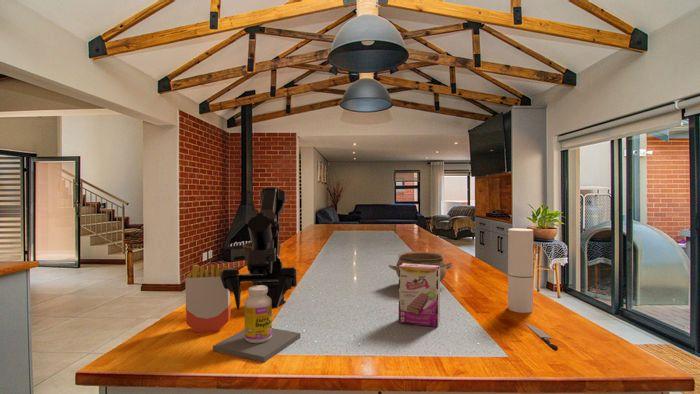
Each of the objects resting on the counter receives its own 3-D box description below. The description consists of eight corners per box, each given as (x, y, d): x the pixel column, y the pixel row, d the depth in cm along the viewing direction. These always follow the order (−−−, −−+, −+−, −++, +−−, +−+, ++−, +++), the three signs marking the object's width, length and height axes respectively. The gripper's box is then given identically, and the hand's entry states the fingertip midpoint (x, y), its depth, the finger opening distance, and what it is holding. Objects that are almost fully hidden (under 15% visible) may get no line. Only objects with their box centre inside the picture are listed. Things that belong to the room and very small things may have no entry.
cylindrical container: (532, 307, 122) (533, 228, 121) (533, 314, 115) (533, 231, 114) (508, 304, 125) (508, 227, 124) (507, 311, 118) (507, 230, 117)
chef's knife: (532, 323, 109) (521, 322, 109) (532, 319, 109) (522, 318, 109) (567, 352, 90) (553, 351, 90) (567, 347, 90) (554, 346, 90)
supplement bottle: (253, 346, 90) (253, 292, 90) (239, 339, 95) (238, 287, 95) (277, 338, 95) (276, 287, 95) (262, 331, 100) (262, 282, 100)
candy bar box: (398, 323, 108) (397, 266, 108) (401, 317, 113) (401, 262, 112) (438, 328, 104) (438, 268, 104) (440, 322, 109) (440, 264, 109)
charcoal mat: (213, 350, 91) (212, 345, 91) (253, 329, 105) (253, 324, 105) (264, 362, 85) (264, 356, 85) (300, 337, 99) (300, 333, 99)
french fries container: (190, 327, 107) (189, 263, 106) (230, 324, 109) (229, 261, 108) (186, 333, 102) (185, 266, 102) (228, 330, 104) (227, 264, 104)
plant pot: (277, 288, 147) (276, 246, 146) (238, 288, 147) (237, 247, 147) (284, 278, 162) (283, 241, 161) (249, 279, 162) (248, 241, 162)
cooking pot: (443, 279, 158) (443, 250, 157) (461, 292, 139) (461, 259, 139) (383, 282, 155) (383, 252, 155) (394, 295, 136) (394, 261, 136)
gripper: (221, 237, 97) (211, 293, 87) (295, 236, 99) (294, 290, 89) (229, 262, 105) (220, 315, 95) (297, 260, 107) (296, 312, 97)
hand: (257, 308), depth 93 cm, fingers open, 9 cm apart
